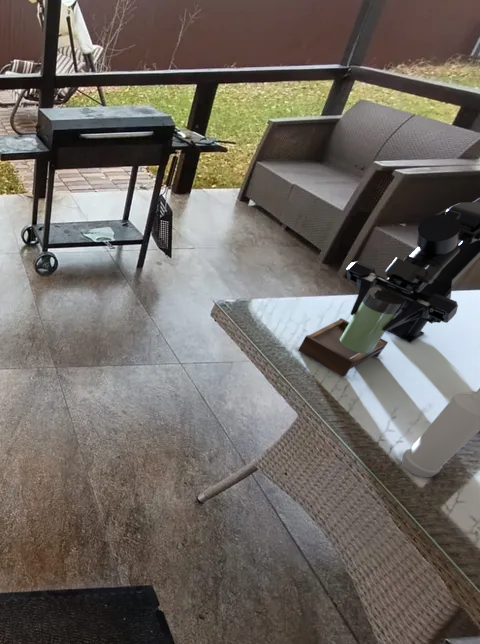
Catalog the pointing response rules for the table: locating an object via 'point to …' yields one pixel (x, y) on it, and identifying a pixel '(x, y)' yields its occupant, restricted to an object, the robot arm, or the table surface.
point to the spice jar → (372, 319)
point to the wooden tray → (335, 349)
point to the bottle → (445, 435)
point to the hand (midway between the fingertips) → (367, 322)
